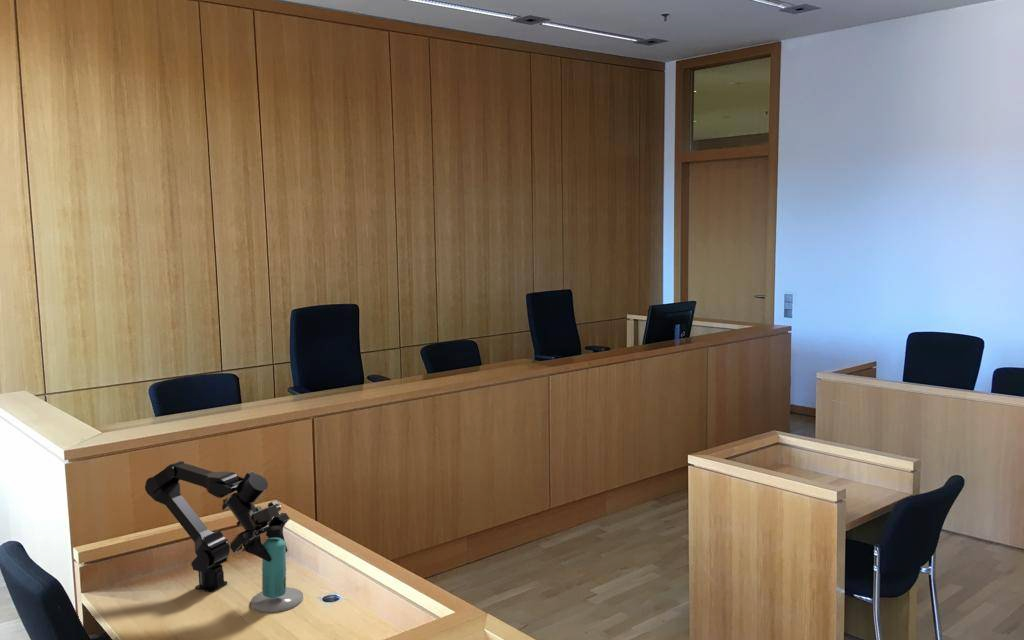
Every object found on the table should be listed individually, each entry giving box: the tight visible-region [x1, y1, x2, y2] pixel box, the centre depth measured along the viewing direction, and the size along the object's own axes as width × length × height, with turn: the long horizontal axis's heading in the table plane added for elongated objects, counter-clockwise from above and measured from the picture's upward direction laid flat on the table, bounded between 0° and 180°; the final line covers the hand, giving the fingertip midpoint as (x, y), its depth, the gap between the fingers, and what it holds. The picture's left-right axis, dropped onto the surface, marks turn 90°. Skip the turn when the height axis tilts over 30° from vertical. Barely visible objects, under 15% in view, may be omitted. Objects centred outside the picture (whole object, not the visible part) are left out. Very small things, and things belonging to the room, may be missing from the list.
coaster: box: [250, 586, 304, 614], centre depth 229 cm, size 14×14×1 cm
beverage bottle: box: [261, 526, 287, 598], centre depth 227 cm, size 6×7×20 cm
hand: (278, 556), depth 227 cm, fingers closed on beverage bottle, 6 cm apart
